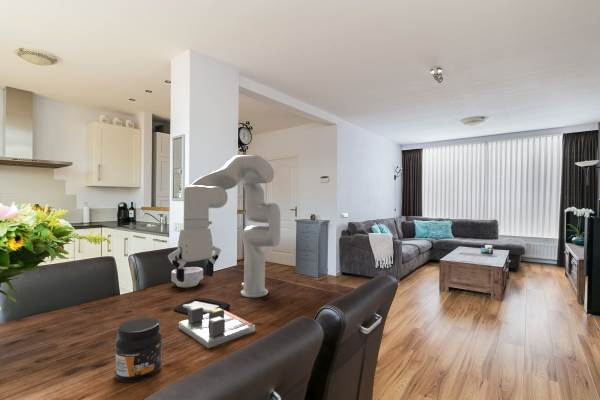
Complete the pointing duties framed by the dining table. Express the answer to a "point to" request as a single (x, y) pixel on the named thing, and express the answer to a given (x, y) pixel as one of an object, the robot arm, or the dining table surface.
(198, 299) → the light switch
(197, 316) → the block
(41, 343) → the dining table surface
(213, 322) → the breaker right
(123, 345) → the supplement container
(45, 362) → the dining table surface
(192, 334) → the panel
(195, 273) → the grey round bowl
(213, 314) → the block
